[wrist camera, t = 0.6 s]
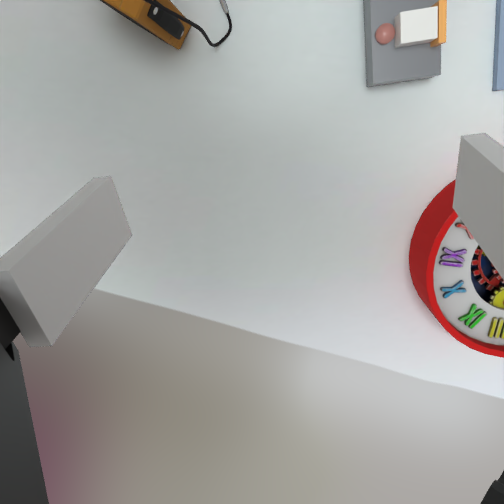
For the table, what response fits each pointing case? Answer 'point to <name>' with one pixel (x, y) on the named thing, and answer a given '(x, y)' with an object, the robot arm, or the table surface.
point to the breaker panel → (396, 59)
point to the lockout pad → (499, 48)
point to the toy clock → (457, 277)
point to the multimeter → (161, 19)
